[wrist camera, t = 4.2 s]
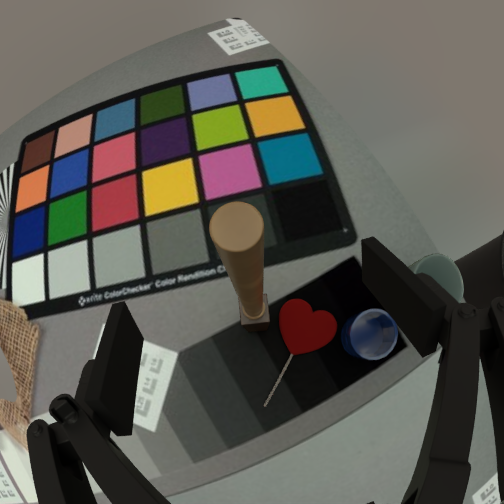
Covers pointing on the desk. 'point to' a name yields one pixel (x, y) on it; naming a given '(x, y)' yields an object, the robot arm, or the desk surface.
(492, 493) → the desk surface
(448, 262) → the cup
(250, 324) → the block
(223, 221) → the stick
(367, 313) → the bowl
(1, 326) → the desk surface
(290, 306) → the lollipop
